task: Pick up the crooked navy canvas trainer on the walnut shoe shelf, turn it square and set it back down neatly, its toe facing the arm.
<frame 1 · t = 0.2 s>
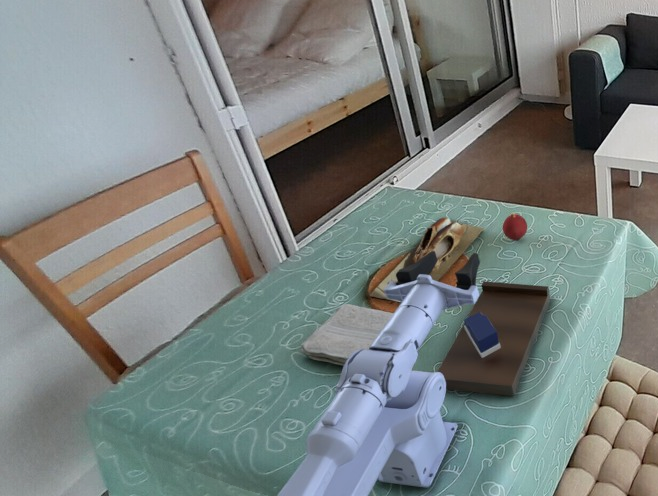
hand: (455, 256, 85), 21 cm above the table, tool horizontal, fingers open, 7 cm apart
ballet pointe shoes: (433, 259, 117), on the table
trainer: (482, 338, 92), point 2 cm above the table, touching shoe shelf
shoe shelf: (498, 340, 95), on the table
washcloth: (362, 341, 96), on the table
onion: (517, 240, 123), on the table
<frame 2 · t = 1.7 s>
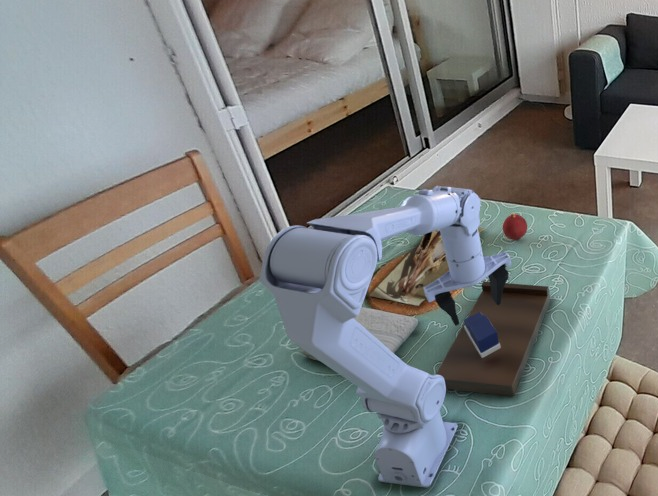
hand: (476, 311, 89), 9 cm above the table, tool pointing down, fingers open, 7 cm apart
nothing on the table moved.
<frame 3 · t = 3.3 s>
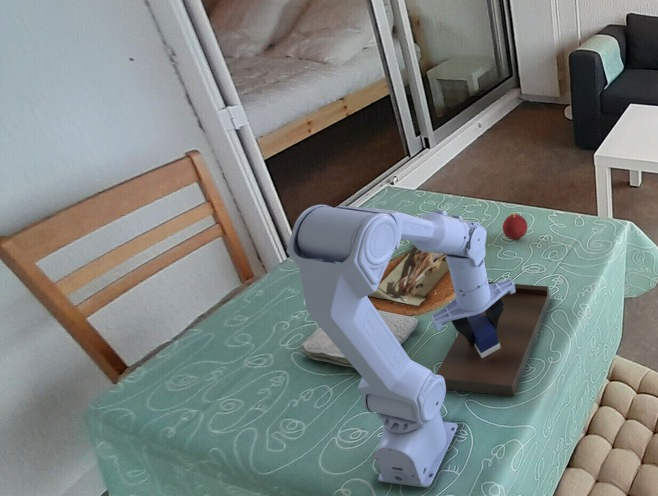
hand: (482, 336, 92), 3 cm above the table, tool pointing down, fingers closed on trainer, 3 cm apart
trainer: (482, 338, 92), point 2 cm above the table, touching gripper, shoe shelf
everything else where it was.
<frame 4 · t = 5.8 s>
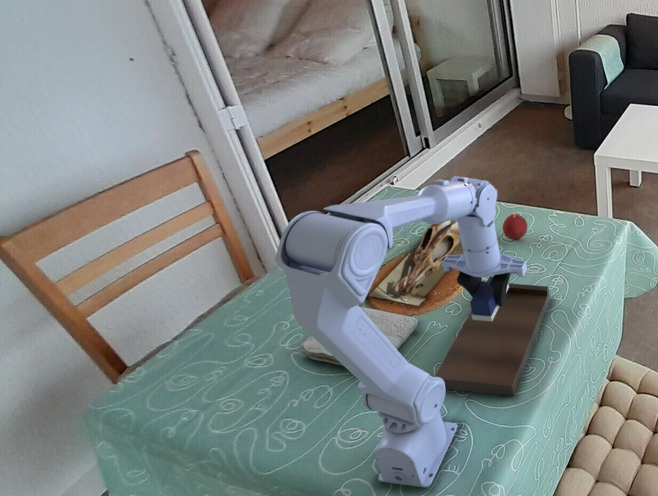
hand: (491, 301, 91), 10 cm above the table, tool pointing down, fingers closed on trainer, 3 cm apart
trainer: (491, 303, 91), point 9 cm above the table, touching gripper
everything else where it was.
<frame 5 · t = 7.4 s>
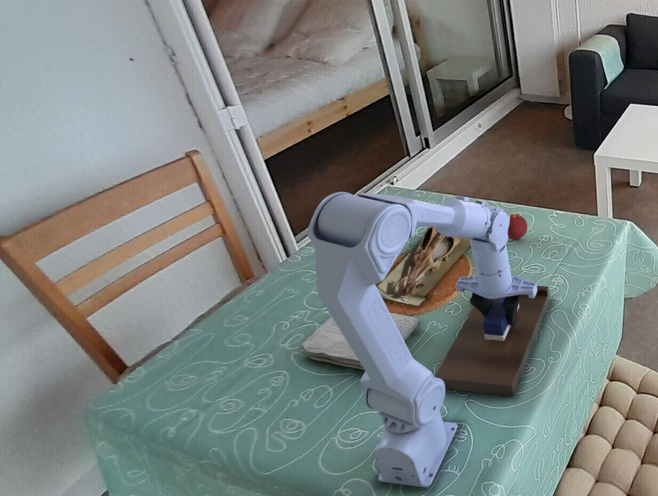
hand: (502, 320, 94), 4 cm above the table, tool pointing down, fingers closed on trainer, 3 cm apart
trainer: (502, 322, 94), point 4 cm above the table, touching gripper
everything else where it was.
when the fingers open (3 cm above the table, at t = 8.2 s): trainer stays where it is, resting on shoe shelf.
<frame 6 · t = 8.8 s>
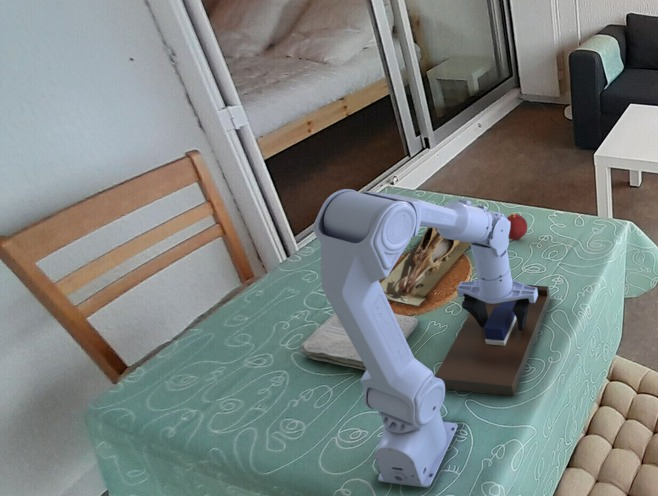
hand: (503, 325, 95), 3 cm above the table, tool pointing down, fingers open, 7 cm apart
trainer: (503, 327, 95), point 2 cm above the table, touching shoe shelf
everything else where it was.
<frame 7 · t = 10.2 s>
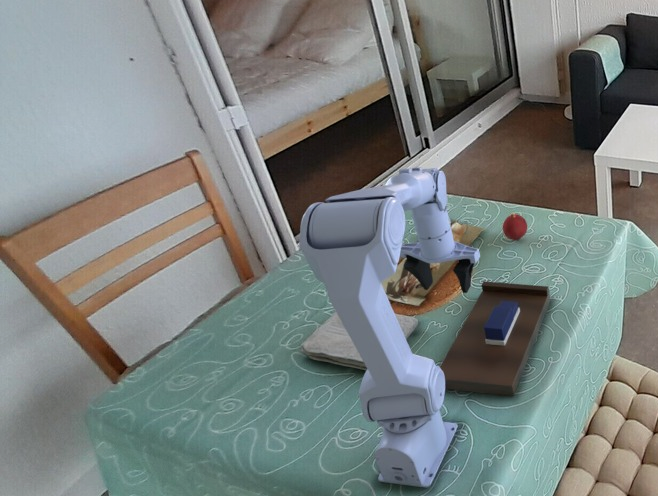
hand: (447, 287, 95), 9 cm above the table, tool pointing down, fingers open, 7 cm apart
nothing on the table moved.
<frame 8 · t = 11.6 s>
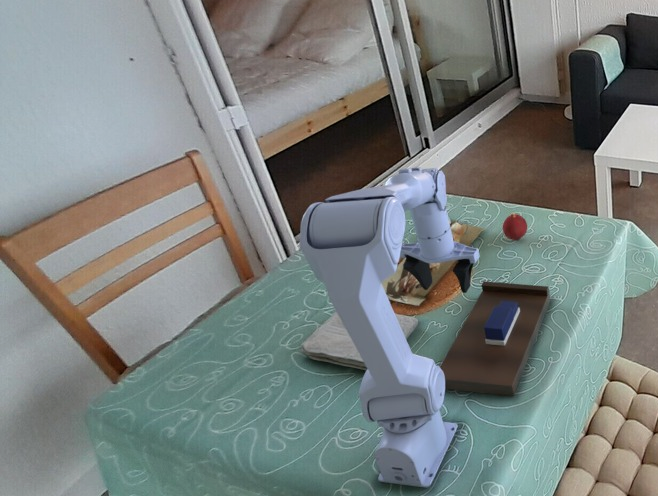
hand: (447, 287, 95), 9 cm above the table, tool pointing down, fingers open, 7 cm apart
nothing on the table moved.
at the end: trainer 0.0 cm from the target spot, point 2.5 cm above the table; trainer tilted 0°; the gripper is holding nothing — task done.
